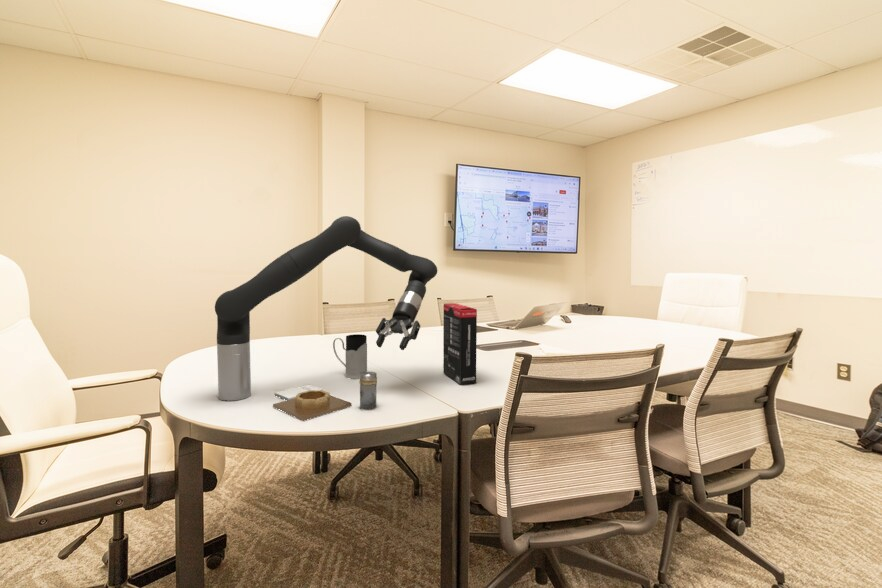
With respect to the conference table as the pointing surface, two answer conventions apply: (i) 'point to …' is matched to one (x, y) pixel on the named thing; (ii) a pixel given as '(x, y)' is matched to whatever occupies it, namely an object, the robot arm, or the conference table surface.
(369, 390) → the cylinder
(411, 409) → the conference table surface
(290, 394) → the external hard drive
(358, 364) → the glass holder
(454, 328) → the graphics card box
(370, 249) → the robot arm
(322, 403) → the octagon frame base plate
